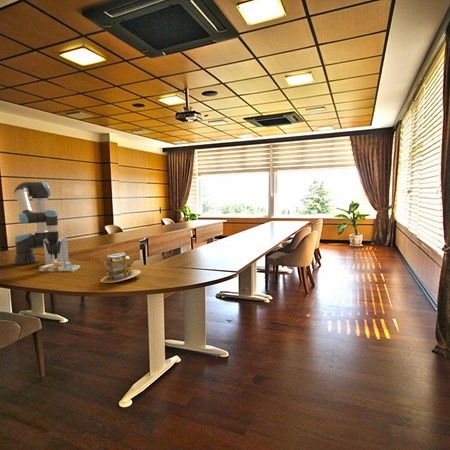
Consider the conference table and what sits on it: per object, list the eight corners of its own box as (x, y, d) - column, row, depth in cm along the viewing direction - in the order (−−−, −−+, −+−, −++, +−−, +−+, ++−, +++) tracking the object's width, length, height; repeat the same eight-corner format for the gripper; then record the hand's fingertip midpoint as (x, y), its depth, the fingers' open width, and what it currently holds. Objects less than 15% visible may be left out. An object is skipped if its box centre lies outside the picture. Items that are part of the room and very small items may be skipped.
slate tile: (64, 263, 219) (67, 263, 219) (68, 261, 224) (71, 262, 224) (63, 268, 220) (66, 269, 220) (66, 267, 224) (70, 268, 224)
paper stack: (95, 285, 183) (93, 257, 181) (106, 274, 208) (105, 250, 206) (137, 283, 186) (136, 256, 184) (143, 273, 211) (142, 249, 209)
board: (39, 271, 219) (38, 267, 219) (48, 267, 229) (48, 263, 229) (57, 271, 218) (57, 267, 217) (66, 268, 227) (65, 264, 227)
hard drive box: (69, 262, 246) (67, 237, 244) (63, 264, 239) (61, 239, 237) (51, 262, 248) (49, 237, 246) (44, 264, 240) (42, 239, 238)
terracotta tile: (53, 266, 220) (53, 262, 220) (58, 264, 225) (57, 261, 225) (59, 266, 220) (59, 262, 220) (63, 264, 224) (63, 261, 224)
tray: (57, 271, 218) (57, 268, 217) (66, 268, 227) (66, 264, 227) (72, 271, 216) (72, 268, 216) (80, 268, 226) (80, 265, 226)
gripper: (40, 231, 217) (42, 264, 219) (57, 231, 216) (59, 264, 218) (47, 230, 225) (49, 262, 227) (64, 230, 223) (66, 262, 225)
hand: (54, 263), depth 222 cm, fingers closed
